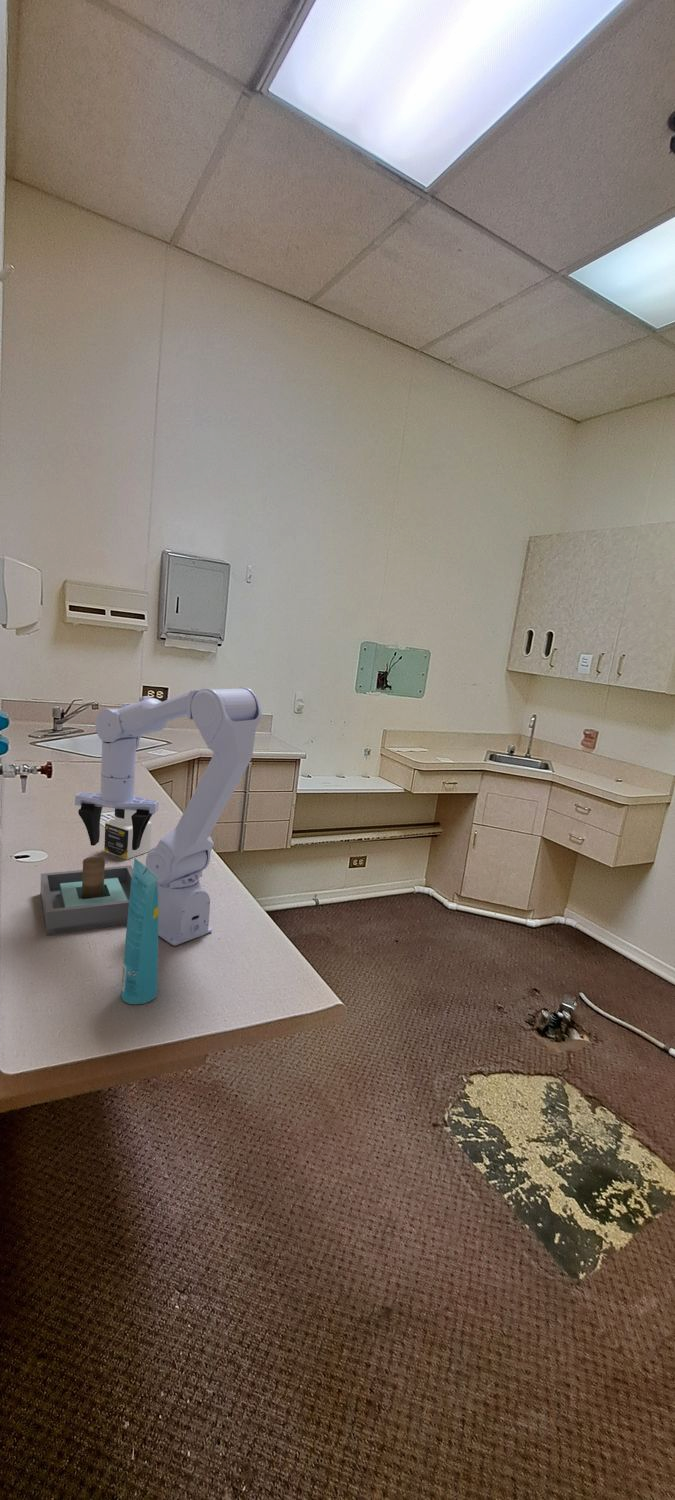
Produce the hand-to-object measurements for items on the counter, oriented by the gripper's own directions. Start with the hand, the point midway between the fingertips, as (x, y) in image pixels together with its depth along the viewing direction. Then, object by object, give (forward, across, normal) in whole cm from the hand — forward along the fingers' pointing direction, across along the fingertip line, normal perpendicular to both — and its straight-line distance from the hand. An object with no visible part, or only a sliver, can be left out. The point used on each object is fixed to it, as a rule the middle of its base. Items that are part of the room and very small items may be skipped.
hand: (115, 846), depth 111 cm
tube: (+11, +15, -28) cm, 33 cm away
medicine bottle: (+11, -6, +23) cm, 26 cm away
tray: (+10, -2, -4) cm, 11 cm away
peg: (+9, -2, -4) cm, 11 cm away
